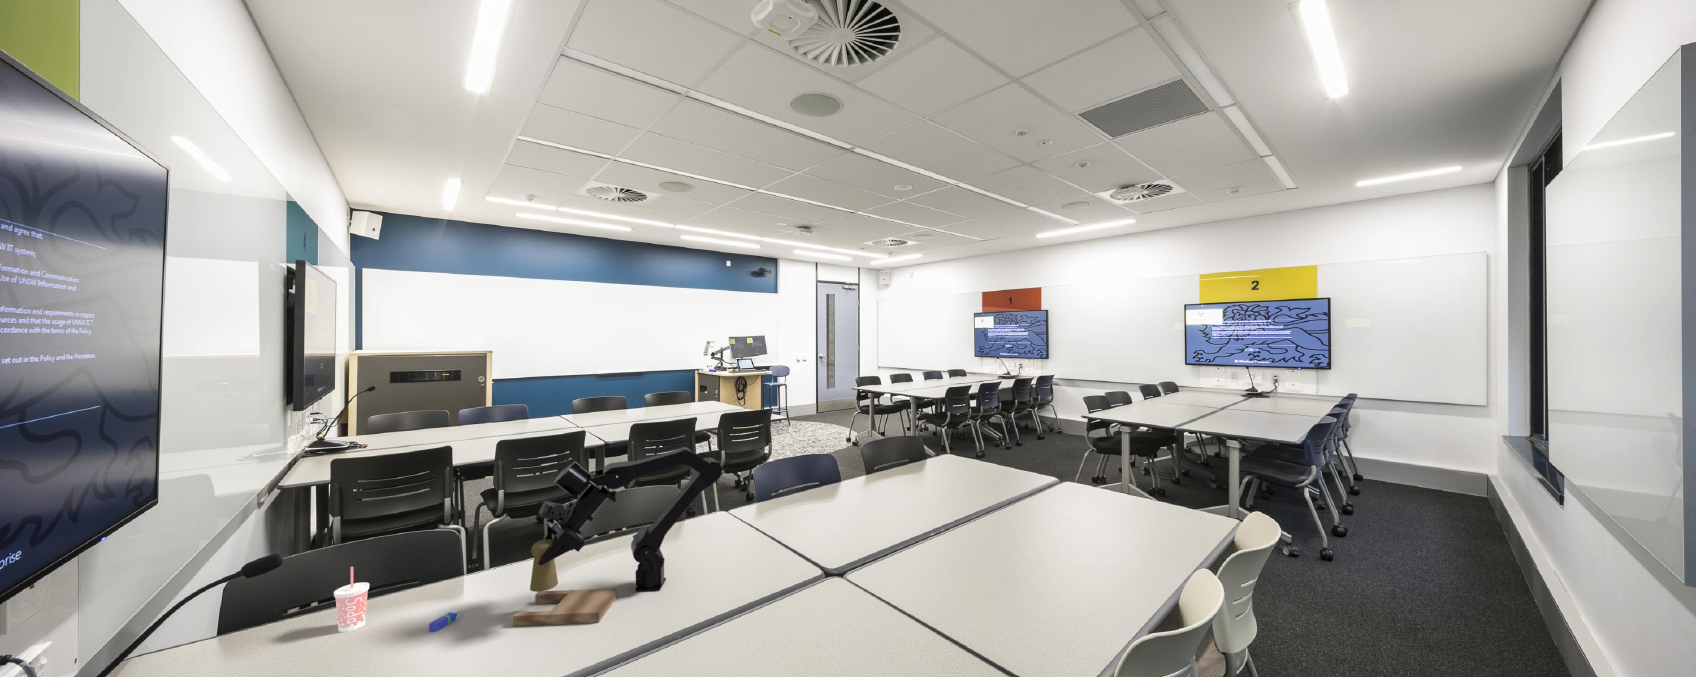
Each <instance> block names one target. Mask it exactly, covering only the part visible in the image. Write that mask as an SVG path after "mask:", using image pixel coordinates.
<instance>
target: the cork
mask: <svg viewBox="0 0 1696 677" xmlns="http://www.w3.org/2000/svg"><path fill="white" fill-rule="evenodd" d="M551 543H552V540H549V539H548V540H543V539H541V540H539V541H536V542H534V544H532V546H531V550H530V551H531V552H530V553H531V555H532V556H533V563H532V572H531V577H530V585H529V590H530V591H531V592H535V593H537V592H541V591H550V590H551V589H553V588H555V587H557V586H558V585H559V581H558V580H559V579H558V575H557V568H556V563H555V558H554V559H553V560H551V561H549V562H547V563H545V564H543V565H539V564H538V561H539V560H540V558H541V557H542V555H543V554H544V553H545V551H546V550H547V548H548V547H549V546H550V544H551Z"/></svg>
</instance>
